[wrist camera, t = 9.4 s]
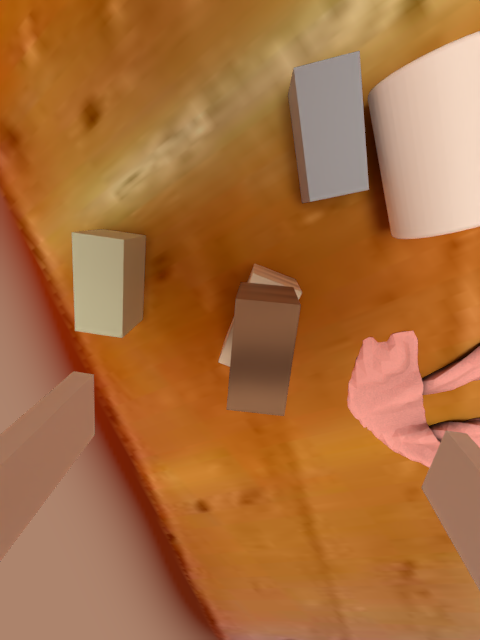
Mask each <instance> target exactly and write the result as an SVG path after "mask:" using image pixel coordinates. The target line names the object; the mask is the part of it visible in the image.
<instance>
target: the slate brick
mask: <svg viewBox="0 0 480 640" xmlns="http://www.w3.org/2000/svg"><path fill="white" fill-rule="evenodd" d="M288 98H289V106H290V114H291V121H292V129H293V137H294V145H295V152H296V160H297V168H298V175H299V183H300V191H301V199H302V203H306V202H312V201H317V200H321V199H326V198H331V197H336V196H341V195H346V194H350V193H355V192H360V191H365V190H369V183H368V168H367V153H366V139H365V124H364V110H363V95H362V80H361V66H360V51H357V52H353V53H349V54H345V55H341V56H337V57H333V58H330V59H326V60H322V61H318V62H314V63H310V64H306V65H303V66H299V67H295V68H294V69H293V73H292V78H291V83H290V87H289V92H288Z"/></svg>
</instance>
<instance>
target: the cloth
mask: <svg viewBox="0 0 480 640" xmlns="http://www.w3.org/2000/svg"><path fill="white" fill-rule="evenodd" d="M417 355H418V339H417V337H416V336H415V334H414V331H405V332H399V333H395V334H392V335H391V336H390V338H389V339H388V341H387V342H380V343H378V342H377V341H376V340H375V339H374V338H373V337H368V338H367V339H365V340H363V345H362V347H361V349H360V353H359V355H358V357H357V358H356V365H355V367H354V369H353V372H352V378H351V379H350V381H349V386H348V399H347V401H348V408H349V409H350V411H351V412H352V414H353V415H354V417H355V418H356V419H359V420H360V423H361V424H362V425H363V427H364V428H365V427H367V428H368V430H371V431H372V433H373V434H374V435H375V436H376V438H378V439H379V440H381V441H382V442H383V443H384V444H386V445H387V446H388V447H389V448H390V449H391V450H393V451H394V452H396V453H400V454H401V455H402V456H405V457H407V458H409V459H410V460H413V461H416V462H420V463H422V464H423V465H425V466H427V467H429V468H430V466H431V464H432V462H433V459H434V457H435V455H436V452H437V450H438V448H439V445H440V443H441V440H442V438H443V436H444V433H445V431H446V430H447V431H454V432H460V433H466V434H468V435H469V437H470V438H471V439H472V440H473V441H474V442H475V443H476V444H477V445H478V447H479V448H480V418H475V419H470V420H467V421H464V422H441V423H437V424H434V425H431V426H429V427H428V425H427V423H426V419H425V410H424V407H423V396H422V395H425V394H434V393H439V392H444V391H449V390H453V389H456V388H458V387H460V386H462V385H465V384H467V383H469V382H471V381H475V380H480V346H479V347H478V348H476V349H475V350H474V351H473V352H472V353H471V354H469V355H468V356H467V357H464V358H462V359H460V360H458V361H456V362H454V363H451V364H449V365H447V366H445V367H443V368H441V369H439V370H437V371H435V372H433V373H431V374H429V375H427V376H425V377H424V378H422V379H421V376H420V372H419V368H418V361H417Z"/></svg>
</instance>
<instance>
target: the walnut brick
mask: <svg viewBox="0 0 480 640" xmlns="http://www.w3.org/2000/svg"><path fill="white" fill-rule="evenodd" d="M300 307H301V304H300V302H299V300H298V297H297V295H296V292H295V290H294V287H289V286H278V285H268V284H257V283H247V282H241V283H240V286H239V289H238V293H237V296H236V301H235V313H234V326H233V338H232V350H231V362H230V375H229V387H228V399H227V410H234V411H243V412H252V413H262V414H271V415H280V416H284V414H285V407H286V400H287V394H288V387H289V380H290V374H291V367H292V360H293V354H294V347H295V340H296V333H297V327H298V320H299V313H300Z"/></svg>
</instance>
